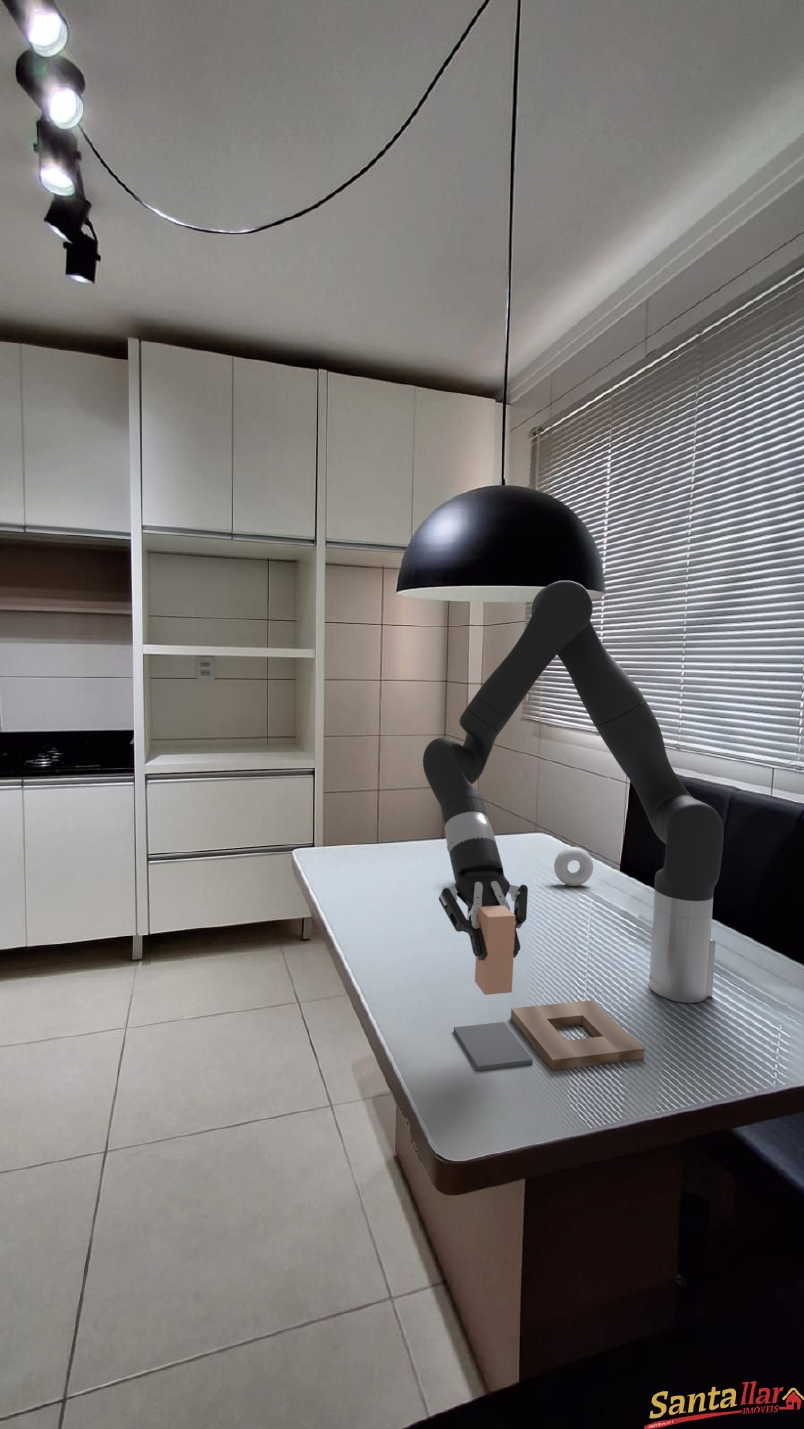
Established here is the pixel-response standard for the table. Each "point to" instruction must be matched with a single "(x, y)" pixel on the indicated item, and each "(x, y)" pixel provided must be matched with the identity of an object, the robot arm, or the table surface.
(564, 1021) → the puzzle board
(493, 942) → the block
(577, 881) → the donut
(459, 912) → the robot arm
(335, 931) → the table surface
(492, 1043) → the mat
